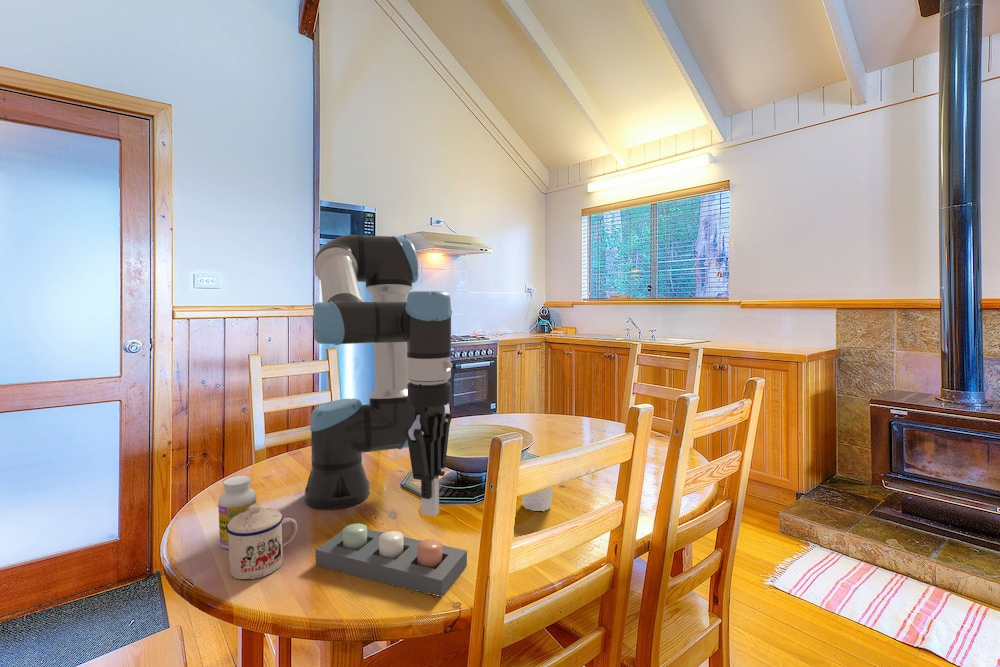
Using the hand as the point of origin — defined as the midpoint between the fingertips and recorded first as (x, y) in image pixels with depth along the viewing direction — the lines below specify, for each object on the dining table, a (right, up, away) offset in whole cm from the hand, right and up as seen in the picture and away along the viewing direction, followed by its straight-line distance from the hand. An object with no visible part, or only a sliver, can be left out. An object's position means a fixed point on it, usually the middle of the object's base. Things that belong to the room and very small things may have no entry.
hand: (430, 513), depth 85 cm
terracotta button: (0, -10, +1) cm, 10 cm away
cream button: (-8, -9, +4) cm, 13 cm away
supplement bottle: (-40, -10, +12) cm, 43 cm away
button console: (-8, -11, +4) cm, 14 cm away
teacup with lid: (-31, -11, +4) cm, 33 cm away
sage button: (-15, -9, +7) cm, 19 cm away
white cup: (+21, -9, +30) cm, 38 cm away
